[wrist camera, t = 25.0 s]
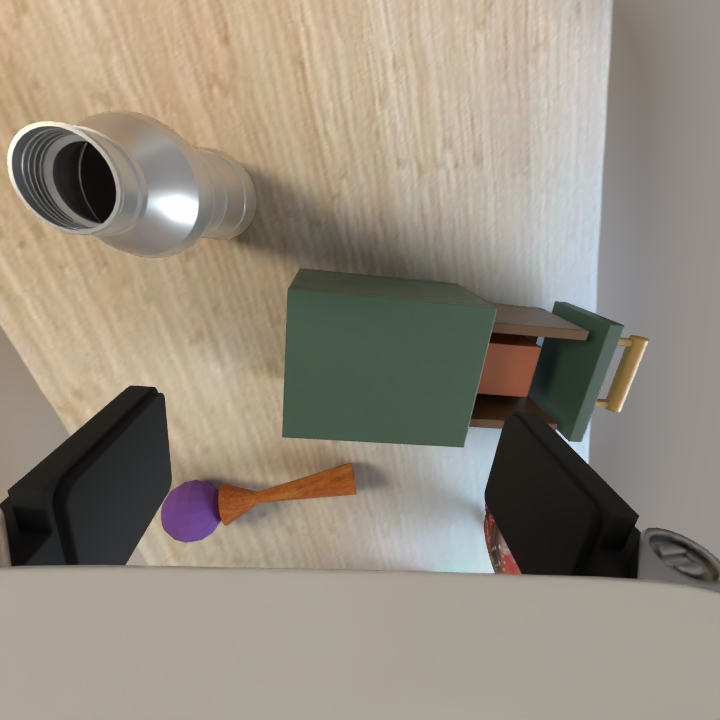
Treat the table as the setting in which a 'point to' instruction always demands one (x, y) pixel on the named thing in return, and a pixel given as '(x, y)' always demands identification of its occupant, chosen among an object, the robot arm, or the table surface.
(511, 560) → the decorative bird figurine
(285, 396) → the cabinet
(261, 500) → the kendama
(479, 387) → the block
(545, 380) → the drawer
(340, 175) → the table surface
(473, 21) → the table surface
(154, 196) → the silver metal bottle
